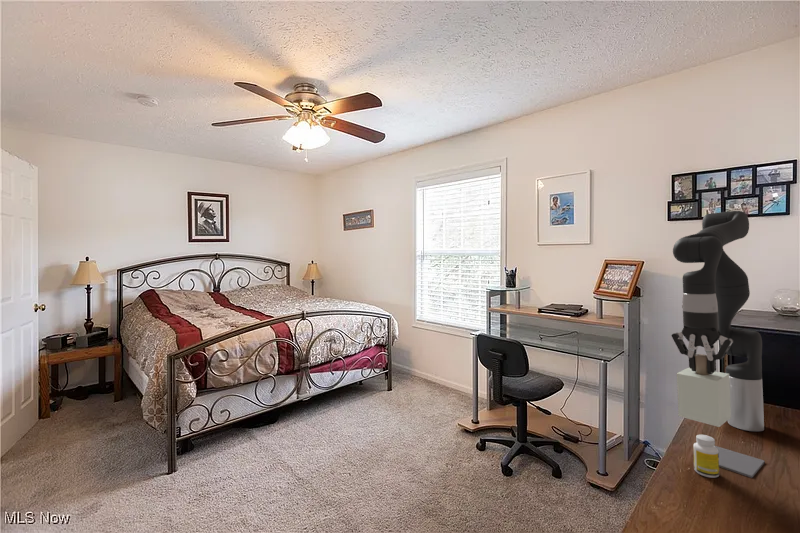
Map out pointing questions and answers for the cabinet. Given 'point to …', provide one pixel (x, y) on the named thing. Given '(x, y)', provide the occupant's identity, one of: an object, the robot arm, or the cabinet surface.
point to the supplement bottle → (706, 456)
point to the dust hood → (703, 394)
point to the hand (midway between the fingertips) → (702, 371)
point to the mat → (739, 462)
